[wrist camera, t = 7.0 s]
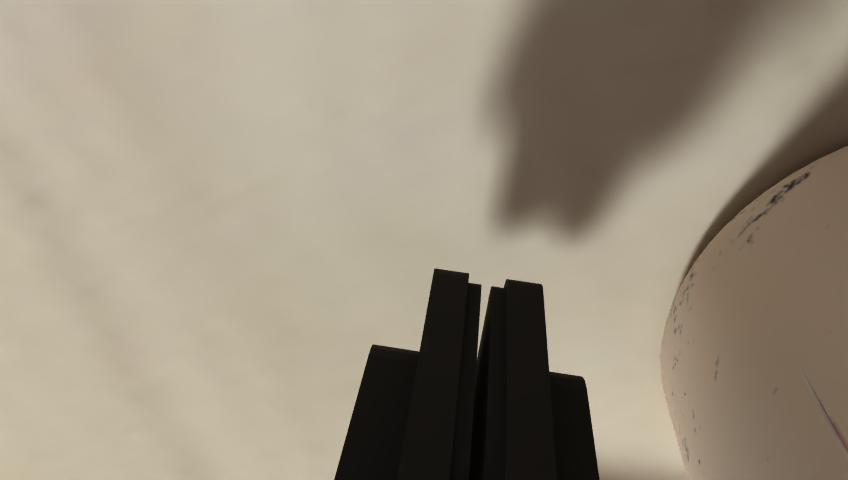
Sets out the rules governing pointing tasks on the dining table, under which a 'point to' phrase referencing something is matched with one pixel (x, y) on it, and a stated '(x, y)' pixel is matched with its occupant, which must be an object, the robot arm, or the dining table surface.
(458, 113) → the dining table surface
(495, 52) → the dining table surface
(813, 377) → the teacup with lid
